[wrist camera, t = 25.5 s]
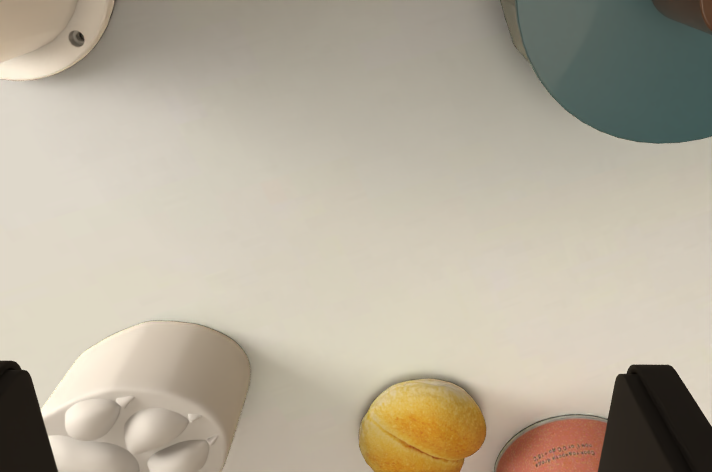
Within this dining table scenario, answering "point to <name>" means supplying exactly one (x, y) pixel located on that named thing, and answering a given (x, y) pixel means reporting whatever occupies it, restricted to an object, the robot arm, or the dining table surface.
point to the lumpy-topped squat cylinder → (149, 401)
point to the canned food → (555, 446)
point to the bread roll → (421, 428)
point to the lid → (625, 63)
